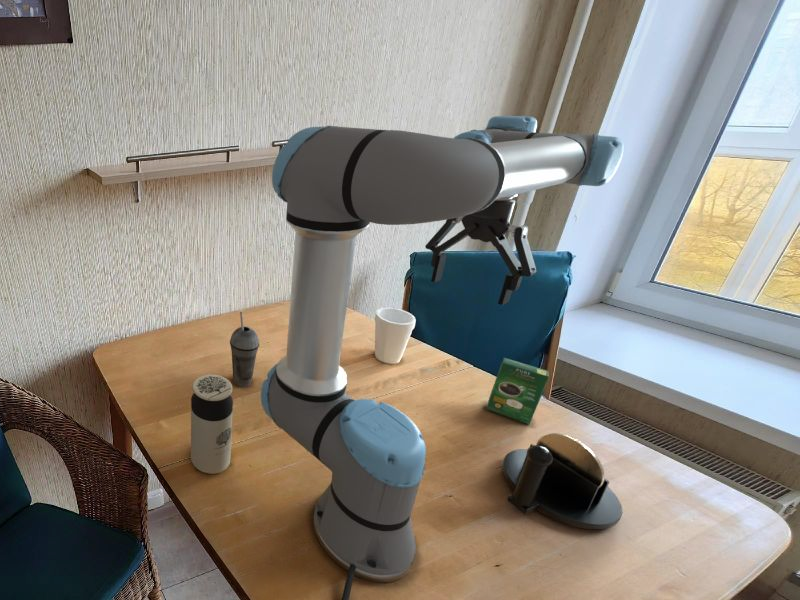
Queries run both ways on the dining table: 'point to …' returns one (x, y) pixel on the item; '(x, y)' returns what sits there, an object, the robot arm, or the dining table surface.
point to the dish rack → (562, 482)
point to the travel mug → (211, 423)
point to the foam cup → (392, 333)
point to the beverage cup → (243, 354)
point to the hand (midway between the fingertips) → (467, 291)
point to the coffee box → (517, 390)
